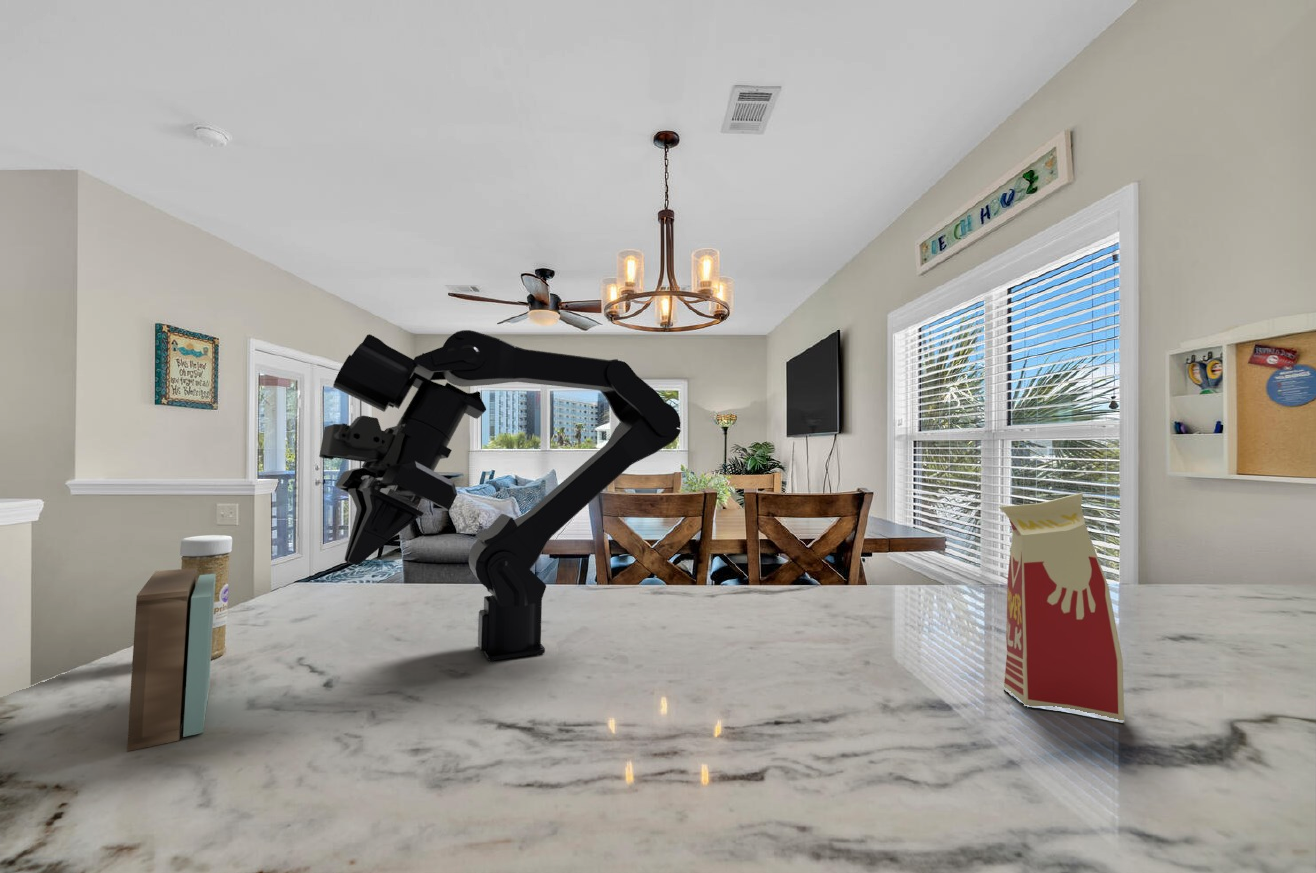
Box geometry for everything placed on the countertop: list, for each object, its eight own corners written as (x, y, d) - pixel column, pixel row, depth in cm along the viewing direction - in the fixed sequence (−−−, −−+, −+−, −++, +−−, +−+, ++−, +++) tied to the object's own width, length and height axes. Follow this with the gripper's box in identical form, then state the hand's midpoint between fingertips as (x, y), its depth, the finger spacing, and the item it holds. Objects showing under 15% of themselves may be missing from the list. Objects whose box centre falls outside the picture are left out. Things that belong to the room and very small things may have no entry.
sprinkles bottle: (224, 659, 62) (230, 537, 63) (170, 667, 59) (177, 540, 60) (227, 648, 66) (234, 533, 67) (177, 654, 63) (184, 535, 64)
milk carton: (1099, 688, 57) (1093, 491, 58) (1131, 726, 49) (1123, 495, 50) (995, 673, 61) (991, 489, 62) (1008, 706, 52) (1003, 492, 53)
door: (209, 683, 55) (216, 571, 55) (202, 732, 45) (210, 596, 45) (193, 686, 54) (200, 573, 55) (183, 736, 44) (191, 598, 45)
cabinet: (189, 690, 53) (196, 568, 54) (178, 740, 44) (187, 590, 45) (147, 697, 52) (155, 571, 52) (126, 751, 42) (136, 595, 43)
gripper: (330, 402, 65) (248, 527, 58) (389, 377, 52) (292, 535, 45) (416, 450, 71) (350, 566, 65) (488, 438, 58) (414, 583, 52)
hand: (350, 563), depth 56 cm, fingers closed
